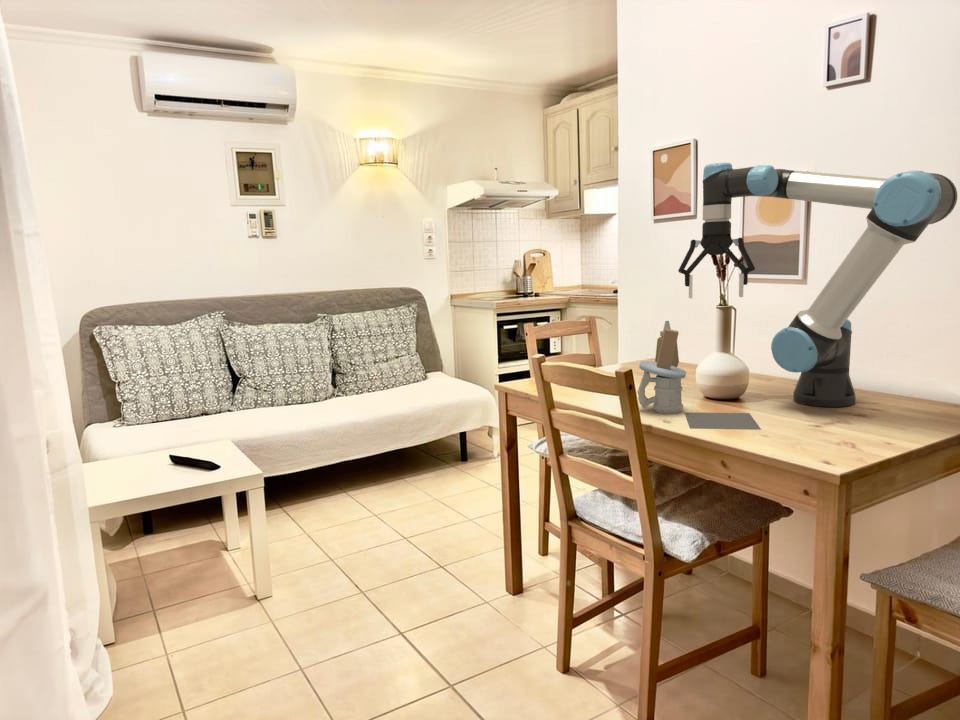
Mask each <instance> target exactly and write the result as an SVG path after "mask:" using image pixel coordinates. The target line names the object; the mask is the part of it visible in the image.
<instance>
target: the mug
mask: <svg viewBox="0 0 960 720" xmlns="http://www.w3.org/2000/svg"><path fill="white" fill-rule="evenodd" d="M650 383H655V385H654V387H653V390H654V396H651V397H649V398H648V397H647V395H646V388H647V386H648V385H649V384H650ZM682 391H683V386H682V378H670V377H665V376H660V375H656V376H655V377H653V376H652V377H651V373H649V372H646V371H644V370H643V375H642V378H641V381H640V383H639V386H638V389H637V395H638V397H637V398H638V402H639V403H638V404H639V405H640V406H641V408H642V409H643V410H645V409H646V408H647V407H648V406H650V405H652V406H653V409H654V411H655V412H656V413H660V414H668V415H669V414H679V413H682V410H683V409H684V404H683V402H682Z"/></svg>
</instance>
